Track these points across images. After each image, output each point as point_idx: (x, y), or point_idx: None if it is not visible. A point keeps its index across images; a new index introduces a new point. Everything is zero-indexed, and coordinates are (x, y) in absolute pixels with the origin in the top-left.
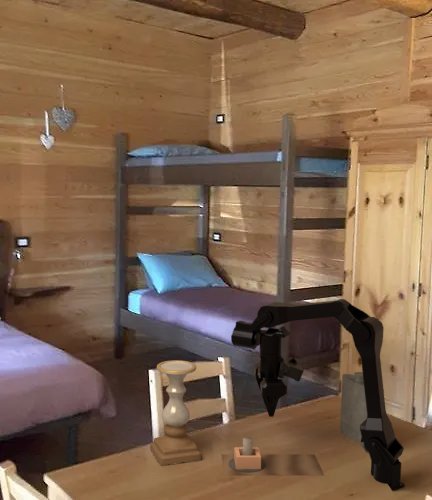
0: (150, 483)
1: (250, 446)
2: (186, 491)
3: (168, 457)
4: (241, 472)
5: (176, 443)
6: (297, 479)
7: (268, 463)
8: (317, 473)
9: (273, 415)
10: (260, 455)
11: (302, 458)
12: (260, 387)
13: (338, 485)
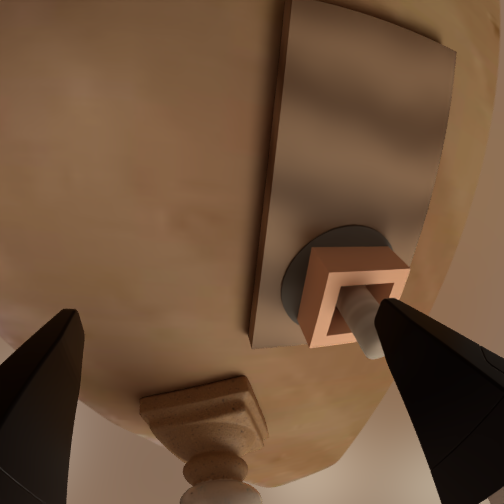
0: (335, 421)
1: None
2: (384, 376)
3: (265, 432)
4: None
5: (247, 447)
6: None
7: (351, 212)
8: (446, 66)
9: (399, 302)
10: (399, 269)
11: (331, 61)
12: (59, 494)
13: (463, 27)
